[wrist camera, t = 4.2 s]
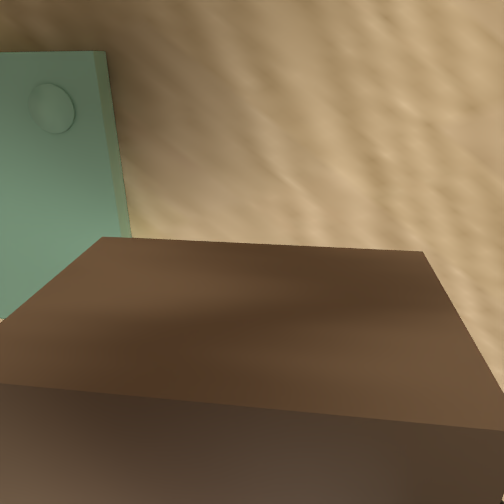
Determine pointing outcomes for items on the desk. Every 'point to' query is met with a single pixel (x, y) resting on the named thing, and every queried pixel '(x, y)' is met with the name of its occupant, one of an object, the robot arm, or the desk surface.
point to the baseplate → (55, 167)
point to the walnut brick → (245, 381)
